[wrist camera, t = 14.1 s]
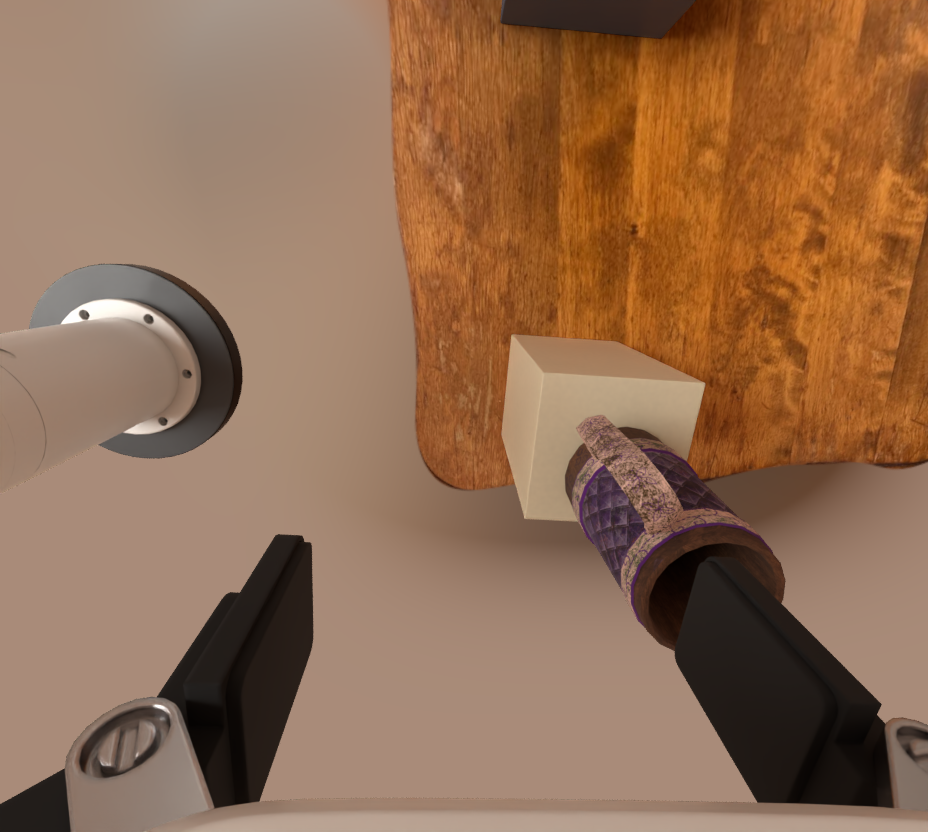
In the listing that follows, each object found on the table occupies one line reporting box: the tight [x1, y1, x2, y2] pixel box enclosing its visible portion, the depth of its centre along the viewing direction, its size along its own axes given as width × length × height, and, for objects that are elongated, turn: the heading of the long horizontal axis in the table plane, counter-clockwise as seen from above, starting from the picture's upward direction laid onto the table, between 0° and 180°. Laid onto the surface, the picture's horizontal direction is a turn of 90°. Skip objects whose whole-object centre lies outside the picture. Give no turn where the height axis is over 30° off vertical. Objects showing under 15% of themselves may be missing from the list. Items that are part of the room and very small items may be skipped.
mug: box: [565, 415, 785, 651], centre depth 24 cm, size 10×7×12 cm
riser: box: [501, 334, 705, 522], centre depth 37 cm, size 10×10×16 cm
